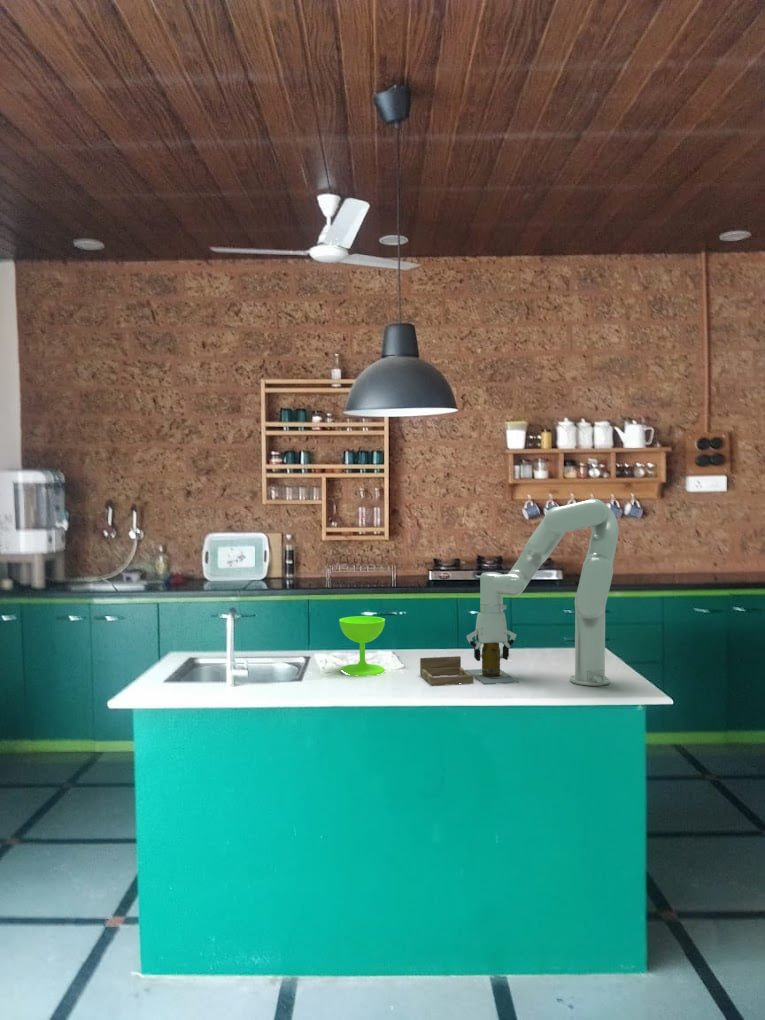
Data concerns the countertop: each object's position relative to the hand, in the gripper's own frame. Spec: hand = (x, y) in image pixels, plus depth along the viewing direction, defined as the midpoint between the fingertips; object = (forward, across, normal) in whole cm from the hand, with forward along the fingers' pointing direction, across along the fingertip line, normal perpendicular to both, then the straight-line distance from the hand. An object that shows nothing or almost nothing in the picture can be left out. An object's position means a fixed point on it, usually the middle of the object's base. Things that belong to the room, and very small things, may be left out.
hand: (491, 659), depth 286 cm
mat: (+6, 0, 0) cm, 6 cm away
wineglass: (+6, +41, -18) cm, 45 cm away
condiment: (+6, 0, 0) cm, 6 cm away
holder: (+6, +16, +1) cm, 17 cm away
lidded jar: (+6, -12, -33) cm, 36 cm away
